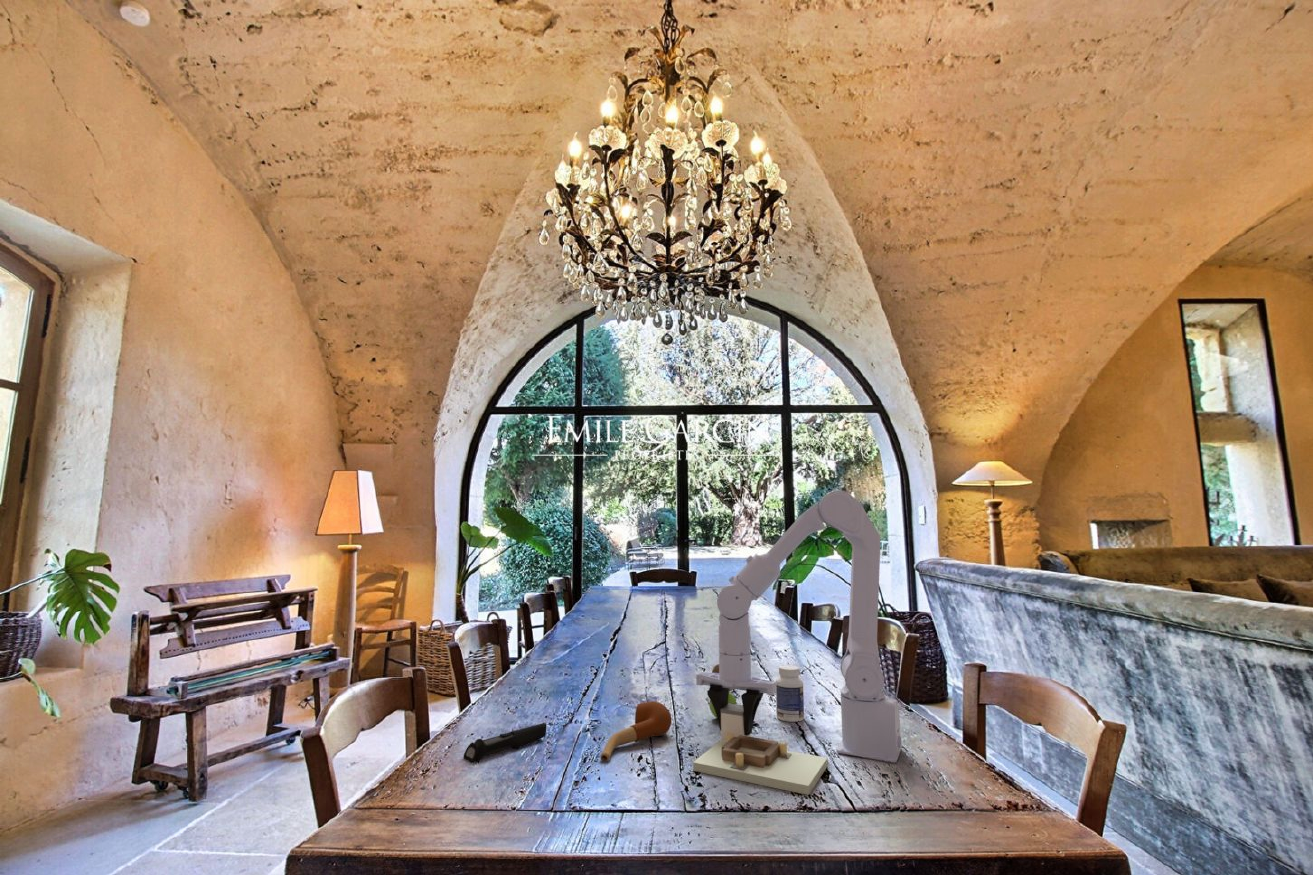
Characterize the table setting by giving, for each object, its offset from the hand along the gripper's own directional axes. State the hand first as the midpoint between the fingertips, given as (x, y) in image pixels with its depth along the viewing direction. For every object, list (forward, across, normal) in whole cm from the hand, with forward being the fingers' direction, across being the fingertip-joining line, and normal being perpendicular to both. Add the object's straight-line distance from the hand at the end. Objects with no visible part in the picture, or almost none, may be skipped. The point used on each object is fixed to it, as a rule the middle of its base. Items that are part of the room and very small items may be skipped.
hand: (735, 731), depth 108 cm
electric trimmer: (+2, -33, -23) cm, 40 cm away
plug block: (+1, 0, 0) cm, 1 cm away
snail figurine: (+2, -6, +10) cm, 12 cm away
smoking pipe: (+2, -14, -10) cm, 17 cm away
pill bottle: (+2, +5, +17) cm, 18 cm away
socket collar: (0, +6, -9) cm, 11 cm away
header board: (+1, +8, -10) cm, 13 cm away
